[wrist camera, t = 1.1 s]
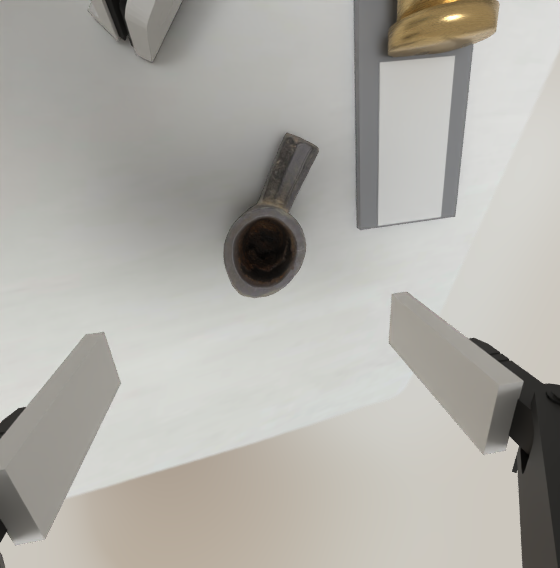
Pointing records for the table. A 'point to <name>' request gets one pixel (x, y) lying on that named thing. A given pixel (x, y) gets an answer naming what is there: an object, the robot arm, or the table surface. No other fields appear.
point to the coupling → (440, 25)
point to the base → (406, 124)
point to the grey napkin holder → (137, 21)
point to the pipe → (271, 227)
